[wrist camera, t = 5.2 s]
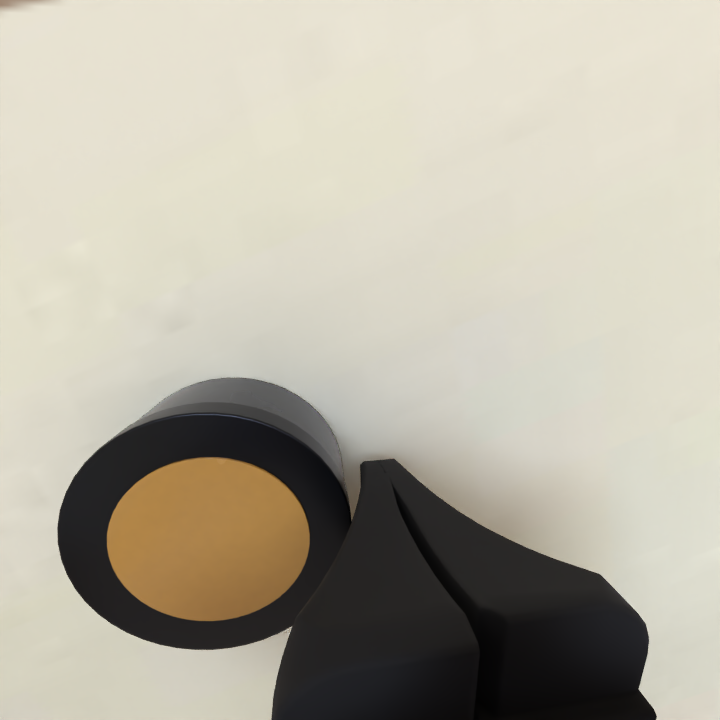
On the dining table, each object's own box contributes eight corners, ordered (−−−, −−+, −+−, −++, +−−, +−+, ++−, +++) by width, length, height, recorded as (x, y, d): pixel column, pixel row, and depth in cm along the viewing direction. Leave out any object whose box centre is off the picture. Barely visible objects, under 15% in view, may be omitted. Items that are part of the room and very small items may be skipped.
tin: (346, 550, 14) (355, 632, 10) (146, 573, 13) (90, 672, 10) (339, 369, 12) (348, 403, 9) (104, 382, 11) (17, 426, 8)
